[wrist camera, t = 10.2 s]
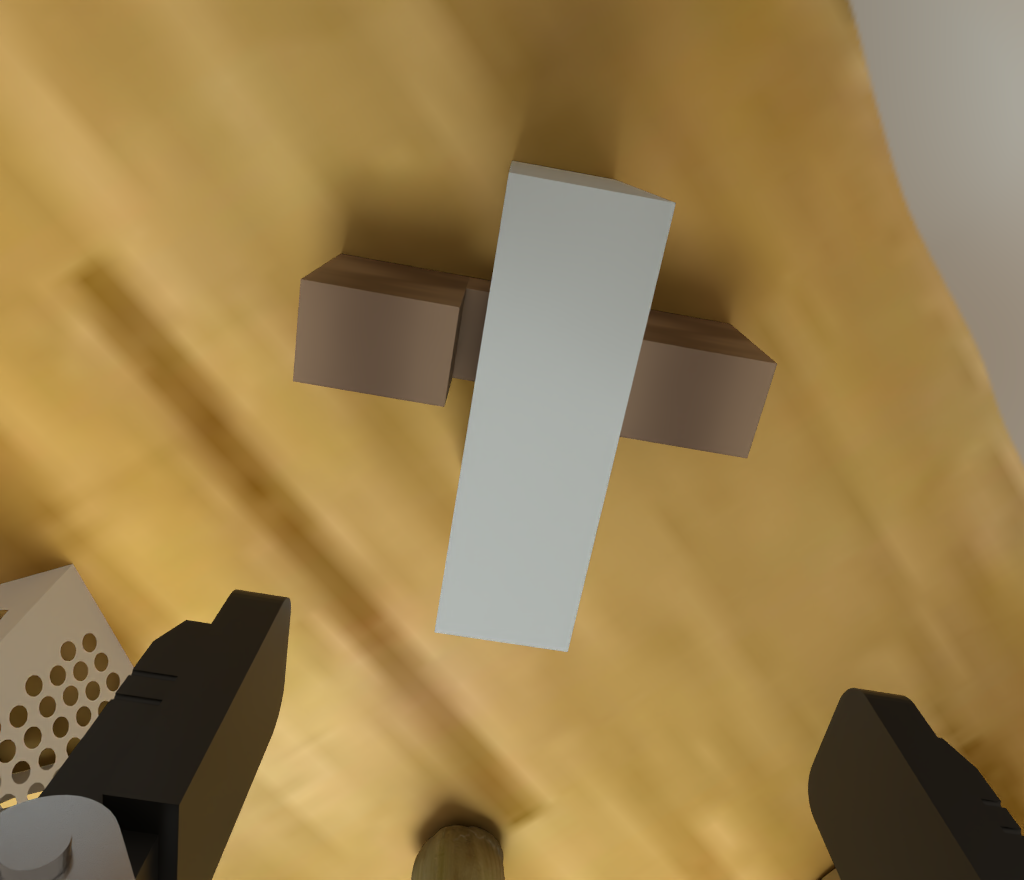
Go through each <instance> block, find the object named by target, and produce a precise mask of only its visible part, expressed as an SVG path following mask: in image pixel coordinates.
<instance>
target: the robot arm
mask: <svg viewBox="0 0 1024 880" xmlns="http://www.w3.org/2000/svg"><path fill="white" fill-rule="evenodd" d="M290 613H291V602H290V599H289V598H287V597H281V596H274V595H268V594H262V593H255V592H249V591H243V590H234V591H233V592H232V593H231V594H230V596H229V597H228V599H227V600H226V602H225V604H224V605H223V607H222V608H221V610H220V611H219V613H218V614H217V616H216V618H215V619H214V621H213V622H212V624H209V623H202V622H196V621H189V620H186V621H184V622H183V623H181V624H179V625H178V626H176V627H175V628H173V629H172V630H170V631H169V632H167V633H165V634H164V635H162V636H161V637H159V638H158V639H156V640H155V641H153V642H152V644H151V645H150V646H149V648H148V649H147V651H146V652H145V653H144V655H143V656H142V657H141V659H140V660H139V661H138V663H137V664H136V666H135V667H134V668H133V671H132V674H131V675H128V676H127V678H126V679H125V681H124V682H123V683H122V685H121V686H120V687H119V689H118V690H117V691H116V693H115V697H114V699H111V700H110V701H109V702H108V704H107V705H106V706H105V708H104V709H103V710H102V712H101V713H100V715H99V716H98V717H97V719H96V720H95V721H94V723H93V724H92V725H91V727H90V728H89V730H88V731H87V732H86V734H85V735H84V736H83V738H82V739H81V740H80V742H79V743H78V745H77V746H76V747H75V749H74V750H73V751H72V753H71V754H70V755H69V757H68V758H67V759H66V761H65V762H64V764H63V765H62V766H61V768H60V769H59V770H58V772H57V773H56V774H55V776H54V777H53V779H52V780H51V781H50V783H49V784H48V785H47V787H46V788H45V789H44V791H43V792H42V793H41V794H40V796H39V797H38V798H36V799H32V800H28V801H25V802H22V803H20V804H17V805H14V806H12V807H10V808H8V809H6V810H4V811H2V812H0V880H212V878H213V875H214V873H215V870H216V868H217V866H218V863H219V861H220V858H221V856H222V854H223V851H224V849H225V846H226V844H227V842H228V839H229V837H230V835H231V832H232V830H233V827H234V825H235V823H236V820H237V818H238V815H239V813H240V811H241V808H242V806H243V803H244V801H245V799H246V796H247V794H248V791H249V789H250V787H251V784H252V782H253V779H254V777H255V775H256V772H257V770H258V767H259V765H260V763H261V760H262V758H263V755H264V753H265V751H266V748H267V746H268V743H269V741H270V739H271V736H272V734H273V731H274V728H275V725H276V722H277V719H278V715H279V711H280V707H281V702H282V697H283V691H284V682H285V671H286V659H287V648H288V636H289V625H290ZM808 795H809V803H810V808H811V812H812V814H813V817H814V820H815V822H816V824H817V826H818V829H819V831H820V833H821V836H822V838H823V840H824V842H825V845H826V847H827V849H828V852H829V854H830V856H831V858H832V861H833V863H834V865H835V869H834V870H833V871H831V872H830V873H829V874H827V875H826V876H825V877H823V879H822V880H1024V836H1022V835H1021V828H1020V827H1019V826H1018V824H1017V823H1016V822H1015V820H1014V819H1013V817H1012V816H1011V815H1010V813H1009V812H1008V811H1007V809H1006V808H1001V805H1000V803H1001V801H1000V800H999V798H998V797H997V796H996V794H995V793H994V791H993V790H992V789H991V787H990V786H989V785H988V783H987V782H986V781H985V779H984V778H983V776H982V775H981V774H980V772H979V771H978V770H977V768H976V767H974V766H973V765H972V764H971V763H970V762H969V761H968V760H966V759H965V758H964V757H963V756H962V755H961V754H960V753H958V752H957V751H956V750H955V749H954V748H953V747H952V746H950V745H949V744H948V743H947V742H946V741H945V740H944V739H942V738H938V737H937V736H936V734H935V733H934V732H933V730H932V729H931V727H930V726H929V725H928V723H927V722H926V720H925V719H924V717H923V716H922V715H921V713H920V712H919V710H918V709H917V708H916V706H915V705H914V703H913V702H912V701H911V700H910V699H909V698H907V697H905V696H901V695H895V694H889V693H882V692H876V691H870V690H863V689H857V688H850V689H848V690H847V691H846V692H844V694H843V695H842V696H841V698H840V700H839V703H838V705H837V707H836V710H835V712H834V715H833V717H832V719H831V722H830V724H829V726H828V729H827V731H826V734H825V736H824V738H823V741H822V743H821V746H820V748H819V750H818V753H817V755H816V758H815V760H814V762H813V765H812V767H811V771H810V775H809V783H808Z"/></svg>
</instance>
